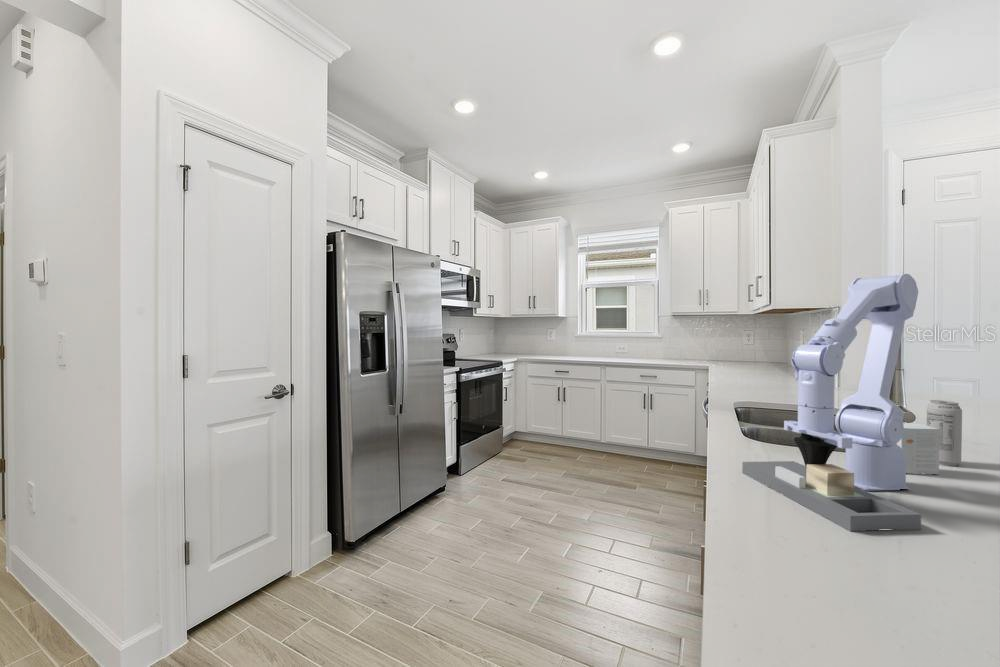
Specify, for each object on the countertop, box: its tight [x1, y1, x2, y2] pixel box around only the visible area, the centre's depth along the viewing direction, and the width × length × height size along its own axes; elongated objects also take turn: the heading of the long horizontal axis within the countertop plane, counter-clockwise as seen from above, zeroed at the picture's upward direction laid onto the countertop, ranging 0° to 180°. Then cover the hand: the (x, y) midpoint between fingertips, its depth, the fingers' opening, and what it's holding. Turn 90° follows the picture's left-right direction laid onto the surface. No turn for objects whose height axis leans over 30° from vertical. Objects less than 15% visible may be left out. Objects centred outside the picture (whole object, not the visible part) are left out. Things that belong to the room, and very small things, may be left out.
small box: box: [896, 422, 940, 475], centre depth 99 cm, size 8×6×10 cm
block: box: [806, 463, 855, 495], centre depth 80 cm, size 5×5×4 cm
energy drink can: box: [925, 399, 963, 467], centre depth 105 cm, size 6×6×15 cm
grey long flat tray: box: [741, 460, 922, 532], centre depth 83 cm, size 12×28×4 cm, turn 3°
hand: (814, 475), depth 84 cm, fingers closed
